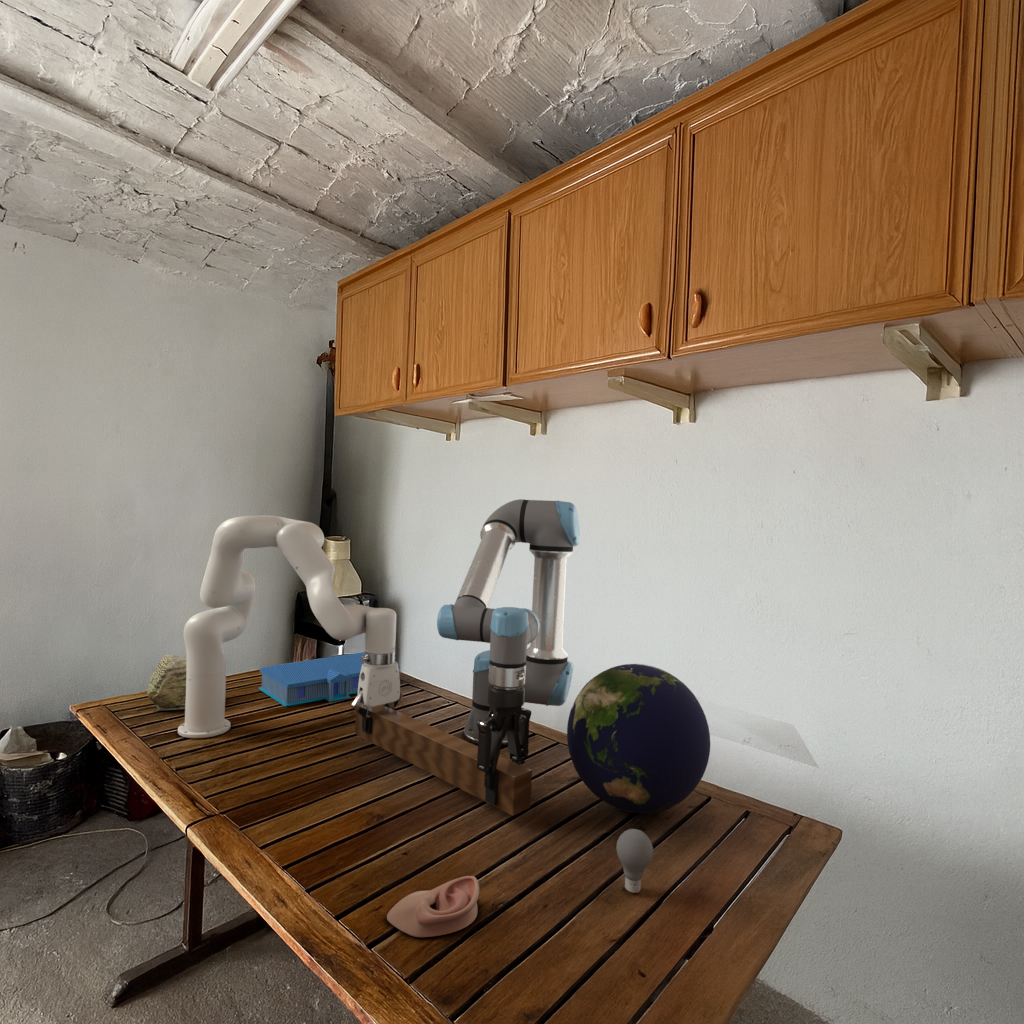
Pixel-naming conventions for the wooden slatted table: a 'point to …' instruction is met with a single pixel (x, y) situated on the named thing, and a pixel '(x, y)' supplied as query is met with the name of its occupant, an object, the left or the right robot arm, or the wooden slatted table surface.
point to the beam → (446, 757)
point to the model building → (313, 679)
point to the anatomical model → (437, 909)
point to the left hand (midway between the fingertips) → (376, 728)
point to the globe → (638, 738)
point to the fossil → (169, 683)
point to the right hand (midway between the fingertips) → (501, 798)
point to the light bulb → (634, 857)
